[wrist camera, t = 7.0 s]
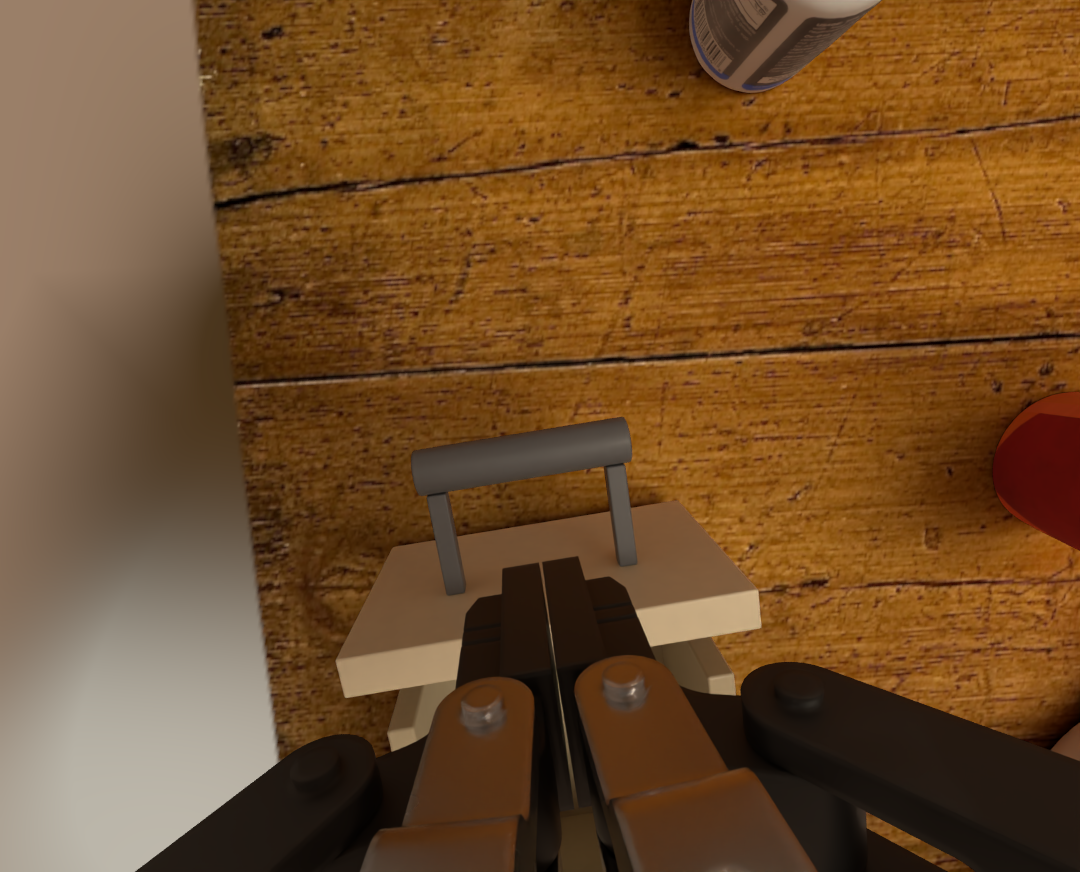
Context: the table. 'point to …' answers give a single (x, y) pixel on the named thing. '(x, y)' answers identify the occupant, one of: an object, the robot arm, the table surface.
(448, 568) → the storage drawer
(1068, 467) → the coffee cup
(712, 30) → the pill bottle
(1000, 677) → the table surface
